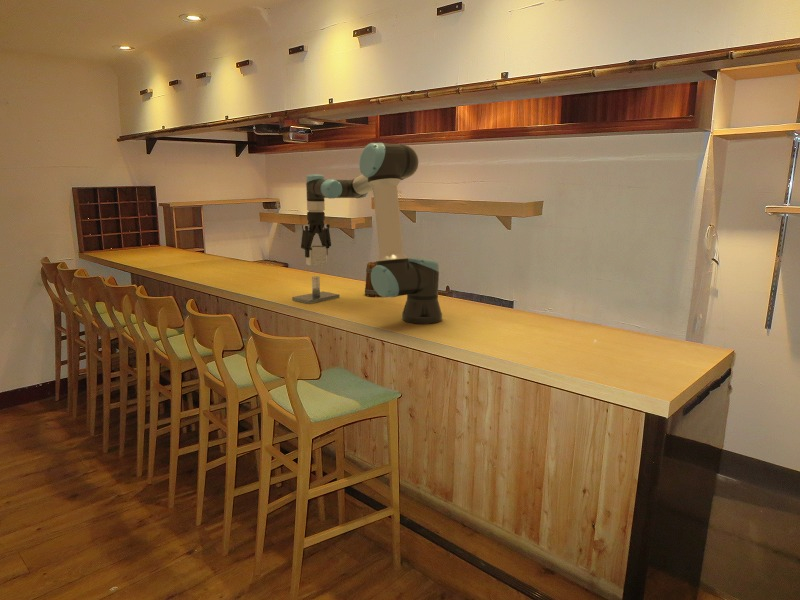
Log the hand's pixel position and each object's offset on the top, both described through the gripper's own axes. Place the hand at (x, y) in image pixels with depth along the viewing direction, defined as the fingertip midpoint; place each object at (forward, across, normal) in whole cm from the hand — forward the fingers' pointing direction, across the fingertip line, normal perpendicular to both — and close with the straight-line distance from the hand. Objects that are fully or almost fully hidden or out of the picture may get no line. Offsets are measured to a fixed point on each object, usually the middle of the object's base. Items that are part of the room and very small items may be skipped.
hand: (316, 263), depth 233 cm
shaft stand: (+16, 0, 0) cm, 16 cm away
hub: (0, 0, 0) cm, 0 cm away
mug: (+16, -26, +15) cm, 34 cm away
